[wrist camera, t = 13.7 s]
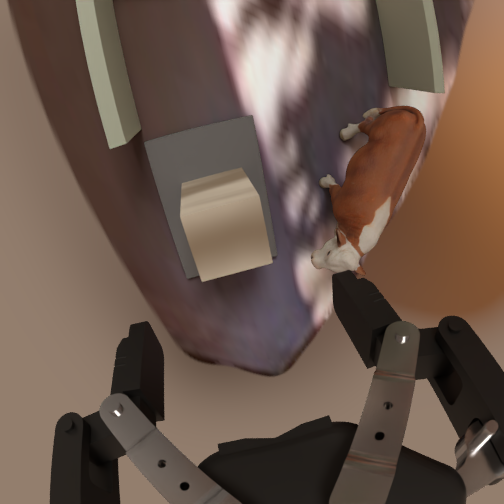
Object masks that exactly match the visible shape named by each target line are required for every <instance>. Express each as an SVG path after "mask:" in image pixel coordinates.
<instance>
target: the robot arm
mask: <svg viewBox="0 0 504 504" xmlns="http://www.w3.org/2000/svg"><path fill="white" fill-rule="evenodd" d="M332 287H333V305H334V309H335V312H336V314H337V316H338V318H339V320H340V321H341V323H342V325H343V326H344V328H345V330H346V332H347V333H348V335H349V337H350V339H351V340H352V342H353V344H354V346H355V348H356V349H357V351H358V353H359V354H360V356H361V358H362V360H363V361H364V364H365V365H366V367H367V369H368V368H371V367H373V366H376V371H375V372H374V375H373V379H372V383H371V386H370V389H369V393H368V397H367V400H366V403H365V406H364V409H363V412H362V416H361V419H360V422H359V425H357V424H354V423H349V422H331V419H330V417H329V416H326V417H322V418H319V419H316V420H313V421H310V422H306V423H303V424H301V425H299V426H297V427H296V428H294V429H292V430H290V431H288V432H286V433H284V434H282V435H280V436H279V437H276V438H256V439H255V438H254V439H253V438H250V439H249V438H248V439H247V438H245V439H240V440H236V441H231V442H226V443H221V444H218V448H219V451H218V452H216V453H214V454H212V455H210V456H209V457H208V458H206V459H205V460H204V461H203V462H201V463H200V464H199V466H198V467H197V466H196V465H195V464H193V463H192V462H191V461H190V460H189V459H188V458H187V457H186V456H185V455H184V454H183V453H182V452H181V451H179V450H178V449H177V448H176V447H175V446H174V445H173V444H172V443H171V442H170V441H169V440H168V439H167V438H166V437H165V436H164V435H163V434H162V433H161V432H160V431H159V430H158V429H157V428H156V422H157V421H163V420H164V354H163V350H162V347H161V345H160V343H159V341H158V339H157V337H156V335H155V333H154V331H153V329H152V327H151V326H150V324H149V322H147V321H145V322H141V323H136V324H132V325H130V329H129V337H127V338H123V339H122V341H121V342H120V344H119V346H118V348H117V352H116V359H115V367H114V372H113V380H112V387H111V394H110V396H108V397H107V398H106V399H105V400H104V401H103V402H102V404H101V406H100V410H99V411H97V412H95V413H93V414H91V415H88V416H86V417H84V418H82V417H81V416H80V415H79V414H77V413H73V412H70V413H67V414H65V415H64V416H62V417H61V418H60V419H59V421H58V422H57V425H56V428H55V437H54V446H53V455H52V468H51V484H50V504H120V494H119V475H118V458H119V457H121V456H124V455H126V454H127V456H128V457H129V458H130V460H131V461H132V462H133V463H134V464H135V466H136V467H137V468H138V469H139V470H140V472H141V473H142V474H143V475H144V476H145V477H146V478H147V480H148V481H149V482H150V483H151V484H152V485H153V486H154V487H155V488H156V489H157V491H158V492H159V493H160V494H161V495H162V496H163V497H164V498H165V499H166V500H167V501H168V502H169V503H170V504H466V498H467V497H468V496H470V495H472V494H473V493H474V492H477V491H478V490H480V489H481V488H483V487H485V486H486V485H493V484H496V483H498V482H499V481H501V480H502V479H504V372H503V370H502V369H501V367H500V366H499V364H498V363H497V362H496V360H495V359H494V357H493V356H492V355H491V353H490V352H489V351H488V349H487V348H486V347H485V345H484V344H483V343H482V341H481V340H480V338H479V337H478V336H477V335H476V334H475V332H474V331H473V330H472V328H471V327H470V325H469V324H468V323H467V322H466V321H465V320H464V319H462V318H460V317H457V316H447V317H445V318H443V319H442V320H441V321H440V322H439V325H438V327H434V328H425V329H418V328H417V327H416V326H415V325H414V324H412V323H409V322H406V321H402V320H401V319H400V317H399V316H398V315H397V313H396V312H395V311H394V309H393V308H392V307H391V306H390V304H389V303H388V302H387V300H386V299H384V296H383V295H382V294H381V293H380V292H379V290H378V289H377V288H376V286H375V285H374V284H373V283H372V282H370V281H368V280H367V279H365V278H361V279H357V278H356V277H355V275H354V274H353V273H352V271H351V270H346V271H343V272H339V273H336V274H333V276H332ZM426 378H427V379H428V381H429V382H430V384H431V386H432V388H433V389H434V391H435V393H436V395H437V397H438V398H439V400H440V402H441V404H442V406H443V408H444V410H445V411H446V413H447V415H448V417H449V419H450V421H451V423H452V425H453V427H454V428H455V430H456V432H457V434H458V436H459V438H460V439H459V440H458V442H457V443H456V446H455V456H456V459H457V466H456V469H453V468H452V467H450V466H448V465H446V464H444V463H441V462H439V461H436V460H434V459H431V458H429V457H427V456H425V455H422V454H420V453H418V452H416V451H413V450H411V449H409V448H407V447H405V446H402V442H403V438H404V434H405V430H406V426H407V421H408V417H409V412H410V407H411V402H412V397H413V391H414V386H415V380H418V379H426Z"/></svg>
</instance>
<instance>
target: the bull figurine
mask: <svg viewBox="0 0 504 504" xmlns="http://www.w3.org/2000/svg"><path fill="white" fill-rule="evenodd" d="M363 117H364V118H365V120H364V121H363V122H361V123H359V124H348V127H347V128H345V129H342V130H341V131H340V138H341V139H342V140H343V141H346V140H348V139H350V138H352V137H353V136H354V135H355V134H357V133H359V132H363V133H365V134H367V135H368V137H369V141H368V142H367V144H366V145H364V146H363V147H361V148H360V149H359V150H358V151H357V152H356V153H355V154H354V155H353V157H352V158H351V160H350V161H349V164H348V166H347V170H346V179H345V182H344V184H343V186H342V188H341V187H340V185H338V184H336V183H335V179H334V178H332V177H331V175H329V174H328V175H327V177H322V178H321V179H320V181H319V185H320V186H321V187H322V188H328V187H329V188H330V189H329V193H330V195H331V202H332V205H333V213H334V216H335V218H336V220H337V226H336V229H335V231H334V233H335V237H334V238H332V239H330V240H329V241H327V242H326V243H325V245H324V246H323V248H322V249H321V250H319V249H318V250H315V251H314V252H313V253H312V255H311V259H312V260H311V261H312V264H313V265H314V267H315V268H316V269H321V268H326V269H329V270H331V271H334V272H338V273H339V272H343V271H346V270H351V271H355V272H356V273H358V274H360V275H364V276H365V275H366V273H365V271H364V270H363V268H362V267H361V265H360V264H359V260H360V258H361V257H362V256H363V255H365V254H366V253H367V252H369V251H370V250H371V249H372V248H373V247H374V246H375V245H376V243H377V241H378V239H379V236H380V234H381V233H382V231H383V230H384V228H385V227H386V226H387V224H388V223H389V221H390V218H391V216H392V213H393V210H394V208H395V206H396V204H397V203H398V201H399V199H400V196H401V194H402V192H403V190H404V188H405V186H406V184H407V181H408V179H409V176H410V174H411V172H412V170H413V168H414V166H415V164H416V162H417V160H418V158H419V155H420V153H421V150H422V147H423V144H424V141H425V136H426V127H425V124H424V118H423V115H422V114H421V112H420V111H419V110H417V109H416V108H414V107H410V106H396V107H391V108H373V109H370V110H368V111H367V112H366V113H364V115H363Z"/></svg>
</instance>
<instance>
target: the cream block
mask: <svg viewBox="0 0 504 504" xmlns="http://www.w3.org/2000/svg"><path fill="white" fill-rule="evenodd" d="M180 218H181V221H182V225H183V228H184V231H185V234H186V237H187V240H188V243H189V246H190V249H191V252H192V255H193V257H194V260H195V263H196V266H197V269H198V272H199V275H200V278H201V280H202V282H204V281H208V280H212V279H215V278H219V277H223V276H226V275H230V274H234V273H238V272H241V271H245V270H249V269H252V268H256V267H260V266H263V265H267V264H271V263H273V262H272V257H271V252H270V247H269V241H268V236H267V231H266V226H265V221H264V216H263V211H262V206H261V201H260V197H259V195H258V193H257V191H256V190H255V188H254V186H253V185H252V183H251V182H250V180H249V178H248V177H247V175H246V174H245V172H244V170H243V169H242V168H237V169H233V170H230V171H226V172H222V173H218V174H214V175H210V176H207V177H203V178H199V179H196V180H192V181H188V182H185V183H182V187H181V207H180Z"/></svg>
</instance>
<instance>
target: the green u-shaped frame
mask: <svg viewBox="0 0 504 504" xmlns="http://www.w3.org/2000/svg"><path fill="white" fill-rule="evenodd" d="M375 1H376V5H377V10H378V15H379V21H380V26H381V32H382V38H383V44H384V51H385V58H386V66H387V74H388V82H389V86H390V87H398V88H406V89H413V90H419V91H426V92H432V93H445V91H444V77H443V67H442V57H441V49H440V42H439V35H438V28H437V22H436V17H435V11H434V6H433V1H432V0H375ZM76 5H77V12H78V18H79V23H80V29H81V34H82V39H83V44H84V49H85V54H86V59H87V63H88V68H89V72H90V77H91V81H92V85H93V89H94V93H95V97H96V101H97V105H98V109H99V112H100V116H101V120H102V123H103V127H104V130H105V134H106V137H107V141H108V144H109V148H110V149H112V148H115V147H118V146H121V145H124V144H126V143H128V142H129V141H130V140H131V139H132V138H133V137H134V136H135V135H136V134H137V133H138V132H139V131H140V130H141V126H140V122H139V118H138V114H137V110H136V106H135V102H134V98H133V94H132V90H131V86H130V82H129V78H128V74H127V69H126V65H125V61H124V56H123V51H122V47H121V42H120V37H119V32H118V28H117V22H116V17H115V12H114V7H113V1H112V0H76Z"/></svg>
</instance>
